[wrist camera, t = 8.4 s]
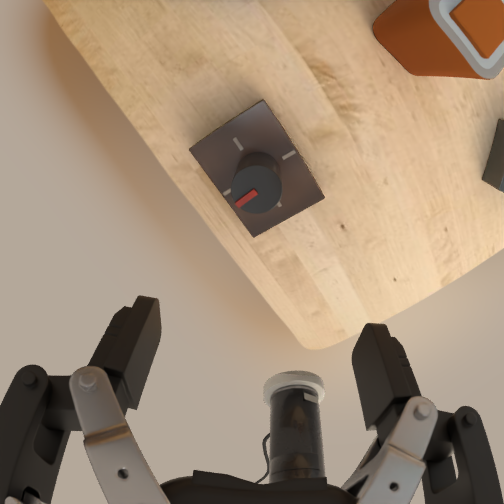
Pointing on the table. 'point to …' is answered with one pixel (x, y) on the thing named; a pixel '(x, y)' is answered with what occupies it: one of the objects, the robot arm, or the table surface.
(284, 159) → the dial panel
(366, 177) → the table surface
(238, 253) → the table surface
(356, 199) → the table surface
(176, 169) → the table surface
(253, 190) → the dial
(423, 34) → the alarm clock
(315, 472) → the robot arm
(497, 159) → the push button base
